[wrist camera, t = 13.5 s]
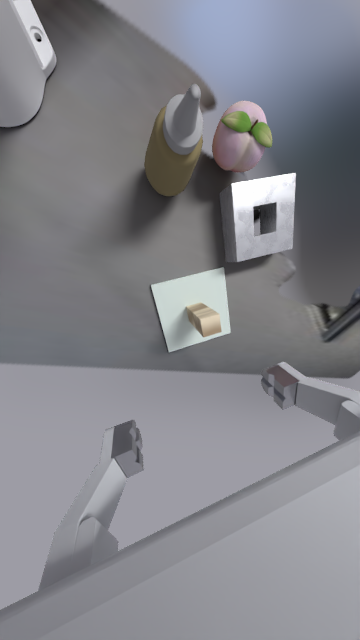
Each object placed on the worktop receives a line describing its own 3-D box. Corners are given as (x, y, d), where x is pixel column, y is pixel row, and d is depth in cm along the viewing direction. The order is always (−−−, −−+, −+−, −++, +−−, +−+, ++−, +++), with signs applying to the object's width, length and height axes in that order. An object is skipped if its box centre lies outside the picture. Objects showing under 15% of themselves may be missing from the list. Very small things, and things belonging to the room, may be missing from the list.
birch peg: (186, 306, 41) (200, 319, 32) (201, 302, 42) (219, 313, 33) (189, 321, 43) (203, 337, 34) (203, 316, 43) (221, 331, 34)
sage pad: (150, 285, 38) (150, 285, 38) (222, 267, 41) (223, 267, 40) (168, 351, 45) (169, 352, 44) (229, 331, 48) (230, 332, 47)
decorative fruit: (249, 135, 33) (291, 88, 24) (242, 184, 36) (278, 159, 27) (205, 123, 31) (233, 66, 22) (201, 177, 34) (225, 145, 25)
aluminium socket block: (219, 193, 36) (231, 183, 31) (276, 183, 38) (295, 172, 33) (225, 261, 41) (237, 262, 36) (275, 249, 43) (292, 248, 38)
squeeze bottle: (176, 145, 31) (222, 15, 15) (190, 194, 34) (240, 134, 18) (135, 159, 30) (136, 38, 14) (154, 208, 34) (171, 158, 17)
